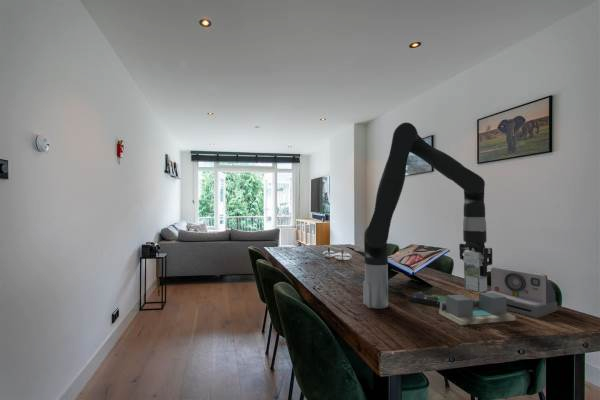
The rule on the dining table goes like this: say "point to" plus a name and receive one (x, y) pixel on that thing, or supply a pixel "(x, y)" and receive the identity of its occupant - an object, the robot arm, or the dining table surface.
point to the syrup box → (473, 272)
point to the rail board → (476, 309)
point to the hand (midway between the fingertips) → (475, 274)
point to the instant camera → (524, 291)
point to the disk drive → (427, 298)
